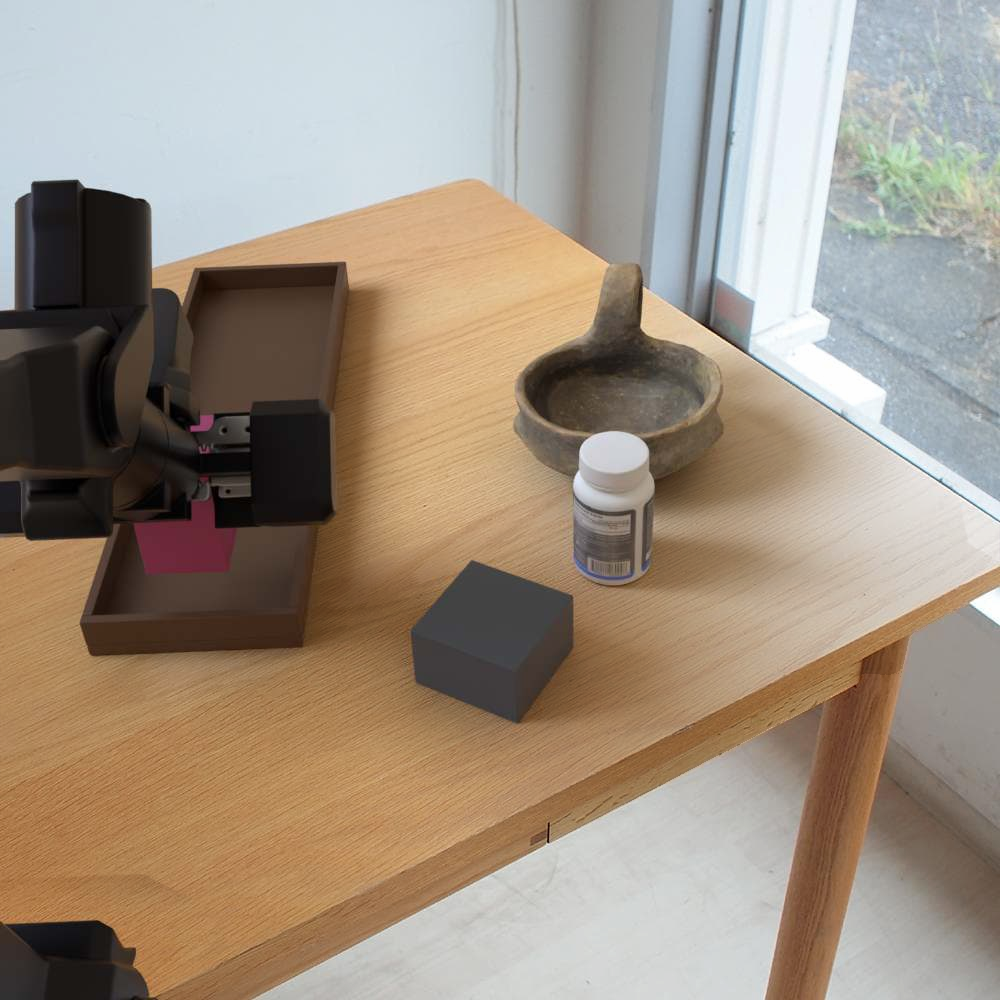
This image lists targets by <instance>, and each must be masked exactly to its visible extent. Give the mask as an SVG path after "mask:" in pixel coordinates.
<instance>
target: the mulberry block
mask: <svg viewBox="0 0 1000 1000" xmlns="http://www.w3.org/2000/svg"><path fill="white" fill-rule="evenodd" d="M212 424H213V415H203V416H200V425H199V426H191V431H207V430H209V429H210V428H211V426H212ZM199 450H200V453H210V449H209V447H208V446H207V449H206V452H203V451H202V449H201V447H199ZM205 480H208V481H209V483H210V485H211V477H200V481H201V483H202V485H204V483H205ZM191 505H192V521H177V522H152V523H133V525H134V528H135V532H136V536H137V540H138V544H139V547H140V551H141V555H142V559H143V563H144V566H145V570H146V574H147V575H152V574H177V573H201V572H226V571H229V566H230V561H231V556H232V552H233V547H234V542H235V537H236V532H237V528H220V529H216V528H215V509H214V487H212V486H211V497H210V499H209V500H207V501H191Z"/></svg>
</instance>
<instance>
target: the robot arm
mask: <svg viewBox="0 0 1000 1000" xmlns="http://www.w3.org/2000/svg"><path fill="white" fill-rule="evenodd" d="M152 220H153V219H152V207H151V204H150V202H148V201H147V200H146V199H145V198H141V197H132V196H130V195H126V194H124V193H119V192H115V191H111V190H106V189H99V188H91V187H85V186H84V184H83V183H82V182H81V181H80V180H79V179H56V180H55V179H54V180H33V181H32V182H31V184H30V192H28V193H25V194H23V195H21V196H20V197H18V198H17V200H16V201H15V202H14V309H4V310H3V309H2V310H0V539H5V538H6V539H7V538H25V539H26V540H28V541H30V542H36V541H37V542H38V541H39V542H40V541H41V542H42V541H63V540H65V541H66V540H86V539H87V540H88V539H89V540H90V539H107V538H108V537H110V536H111V535H112V533H113V524H127V523H152V522H177V521H192V505H191V501H207V500H209V499H210V497H211V486H212V487H214V509H215V528H216V529H220V528H245V527H262V526H271V527H284V526H309V525H318V526H327V525H328V524H329V523H331V521H332V520H333V519H334V518H335V517H336V516H337V515H338V477H337V474H338V473H337V438H336V437H337V436H336V435H337V433H336V415H335V413H334V411H333V412H332V411H331V410H330V409H329V408H328V407H327V406H326V405H325V404H324V403H323V402H322V401H321V400H320V399H301V400H276V401H253V402H252V407H251V411H250V412H235V413H214V414H213V424H212V426H211V428H210V429H209V430H207V431H191V426H199V425H200V400H198V399H197V398H196V397H195V396H194V395H192V394H191V375H190V374H189V373H190V361H191V350H192V345H193V333H192V330H191V328H190V325H189V323H188V320H187V318H186V315H185V313H184V310H183V308H182V305H183V304H182V303H181V301H180V300H181V299H180V298H179V296H178V294H177V293H176V292H175V291H173V290H172V289H169V288H167V287H153V247H152V246H153V239H152V238H153V235H152V234H153V231H152V230H153V229H152V227H153V226H152V225H153V223H152ZM207 446H208V447H209V449H210V453H200V450H199V447H201V449H202V451H203V452H206V449H207ZM200 477H211V485H210V483H209V481H208V480H205V483H204V485H202V483H201V481H200ZM136 956H137V948H136V947H134V946H132V947H125V946H123V944H122V943H121V940H120V938H119V937H118V935H117V933H116V931H115V929H114V928H113V927H111V926H109V925H108V924H106V923H105V922H103V921H101V920H98V919H89V920H88V919H87V920H66V921H65V920H63V921H42V922H40V921H39V922H20V923H18V922H17V923H4V922H3V921H1V920H0V1000H159V998H158V997H156V996H152V997H151V996H150V991H149V987H148V983H147V982H146V980H145V978H144V977H143V974H142V973H141V972H140V970H138V969H137V967H134V962H135V959H136Z"/></svg>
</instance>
